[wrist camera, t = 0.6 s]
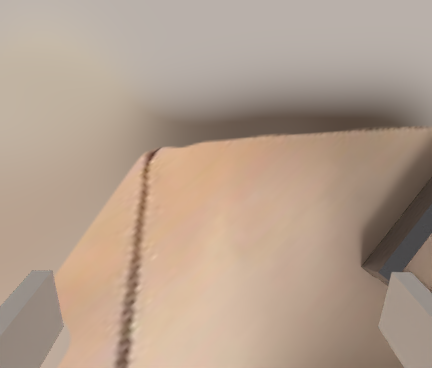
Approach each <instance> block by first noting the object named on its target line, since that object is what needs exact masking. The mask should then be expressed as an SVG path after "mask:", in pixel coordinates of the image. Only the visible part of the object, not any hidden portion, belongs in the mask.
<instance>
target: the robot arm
mask: <svg viewBox="0 0 432 368" xmlns="http://www.w3.org/2000/svg"><path fill="white" fill-rule="evenodd" d="M63 327H64V325H63V320H62V315H61V310H60V305H59V300H58V295H57V291H56V286H55V281H54V276H53V271H45V270H44V271H40V270H38V271H36V270H35V271H34V270H32V271H31V273H30V274H29V275H28V276H27V277H26V278H25V279H24V280H23V282H22V283H21V284H20V285H19V286H18V287H17V288H16V289H15V290H14V291H13V293H12V294H11V295H10V296H9V297H8V298H7V299H6V301H5V302H4V303H3V304H2V305H1V306H0V368H40V367H41V365H42V363H43V361H44V360H45V358H46V356H47V354H48V353H49V351H50V349H51V348H52V346H53V344H54V342H55V341H56V339H57V337H58V336H59V334H60V332H61V330H62V329H63ZM378 328H379V329H380V331H381V332H382V334H383V336H384V337H385V339H386V340H387V342H388V343H389V345H390V347H391V348H392V350H393V351H394V353H395V354H396V356H397V358H398V359H399V361H400V362H401V364H402V365H403V367H404V368H432V293H431V292H430V291H429V290H428V289H427V288H426V287H425V286H424V285H423V284H422V283H421V282H420V281H419V280H418V278H417V277H416V276H415V275H414V274H413V273H412V272H392V273H391V277H390V281H389V285H388V289H387V293H386V297H385V301H384V305H383V309H382V313H381V317H380V321H379V326H378Z"/></svg>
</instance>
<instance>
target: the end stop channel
mask: <svg viewBox="0 0 432 368" xmlns="http://www.w3.org/2000/svg"><path fill="white" fill-rule="evenodd" d="M431 233H432V178H431V179H430V180H429V181H428V183H427V184H426V185H425V187H424V188H423V189H422V190H421V192H420V193H419V194H418V195H417V197H416V198H415V199H414V201H413V202H412V203H411V204H410V206H409V207H408V208H407V210H406V211H405V212H404V213H403V215H402V216H401V217H400V218H399V220H398V221H397V222H396V224H395V225H394V226H393V227H392V229H391V230H390V231H389V232H388V234H387V235H386V236H385V238H384V239H383V240H382V241H381V243H380V244H379V245H378V246H377V248H376V249H375V250H374V252H373V253H372V254H371V255H370V257H369V258H368V259H367V260H366V262H365V263H364V264H363V266H362V268H363V269H365V270H366V271H367V272H369V273H370V274H371V275H372V276H374V277H376V278H378V279H380V280H381V281H382V282H384V283H385V284H386V285H387V286H388V285H389V281H390V277H391V273H392V272H402V271H403V269H404V268H405V267H406V265H407V264H408V263H409V262H410V260H411V259H412V258H413V256H414V255H415V254H416V253H417V251H418V250H419V249H420V247H421V246H422V245H423V244H424V242H425V241H426V240H427V238H428V237H429V236H430V235H431Z"/></svg>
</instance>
